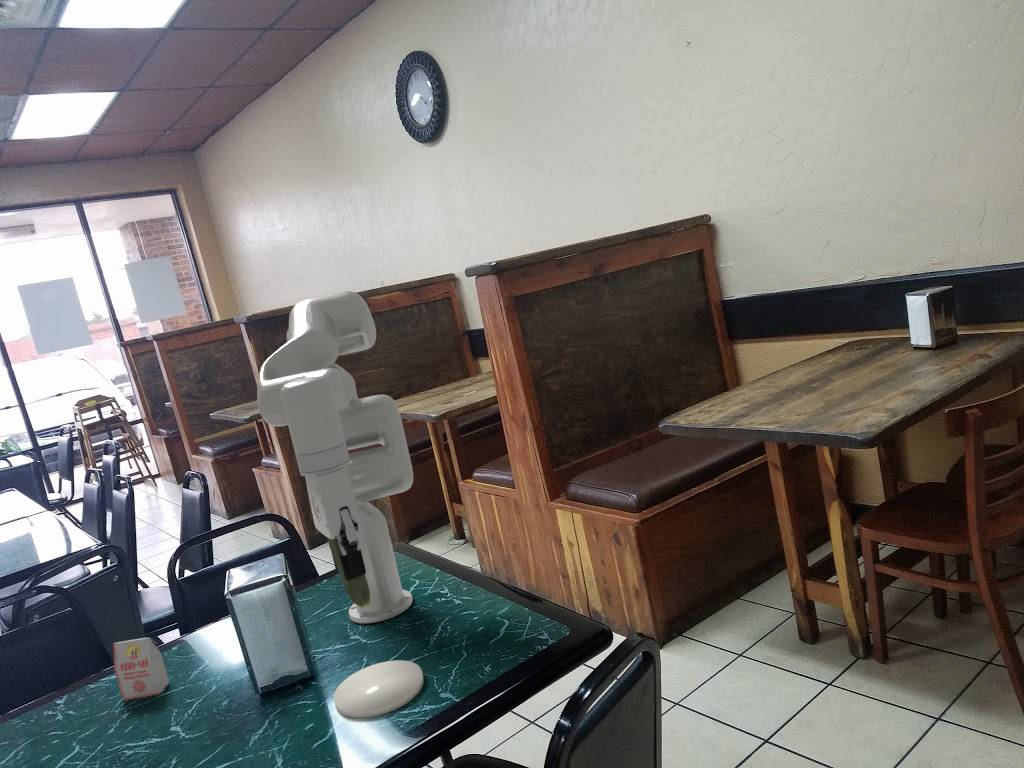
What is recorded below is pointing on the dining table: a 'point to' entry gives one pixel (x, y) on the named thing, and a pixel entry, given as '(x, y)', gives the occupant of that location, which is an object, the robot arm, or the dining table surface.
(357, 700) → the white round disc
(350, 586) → the vegetable
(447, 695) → the dining table surface
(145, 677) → the tea bag
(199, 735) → the dining table surface
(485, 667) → the dining table surface
